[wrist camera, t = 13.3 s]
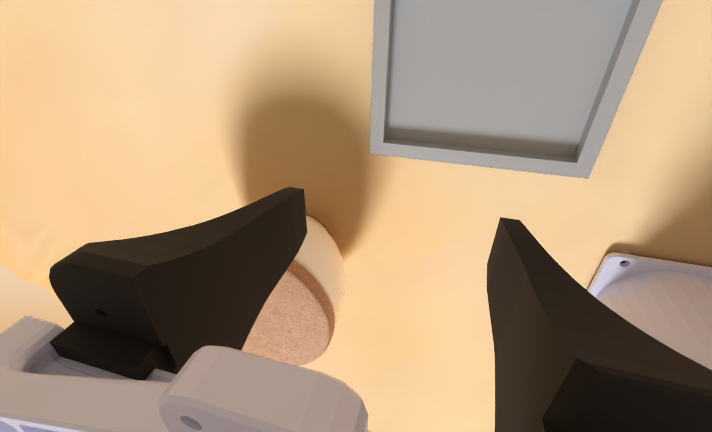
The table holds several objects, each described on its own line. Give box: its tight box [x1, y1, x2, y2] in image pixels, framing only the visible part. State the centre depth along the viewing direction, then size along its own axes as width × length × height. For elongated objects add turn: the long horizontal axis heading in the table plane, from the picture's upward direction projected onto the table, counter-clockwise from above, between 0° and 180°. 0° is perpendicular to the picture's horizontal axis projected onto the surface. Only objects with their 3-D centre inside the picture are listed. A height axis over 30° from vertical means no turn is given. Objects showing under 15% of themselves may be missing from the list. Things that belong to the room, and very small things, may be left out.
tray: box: [370, 0, 663, 179], centre depth 18 cm, size 12×9×1 cm
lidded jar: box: [241, 215, 345, 366], centre depth 24 cm, size 11×11×9 cm
